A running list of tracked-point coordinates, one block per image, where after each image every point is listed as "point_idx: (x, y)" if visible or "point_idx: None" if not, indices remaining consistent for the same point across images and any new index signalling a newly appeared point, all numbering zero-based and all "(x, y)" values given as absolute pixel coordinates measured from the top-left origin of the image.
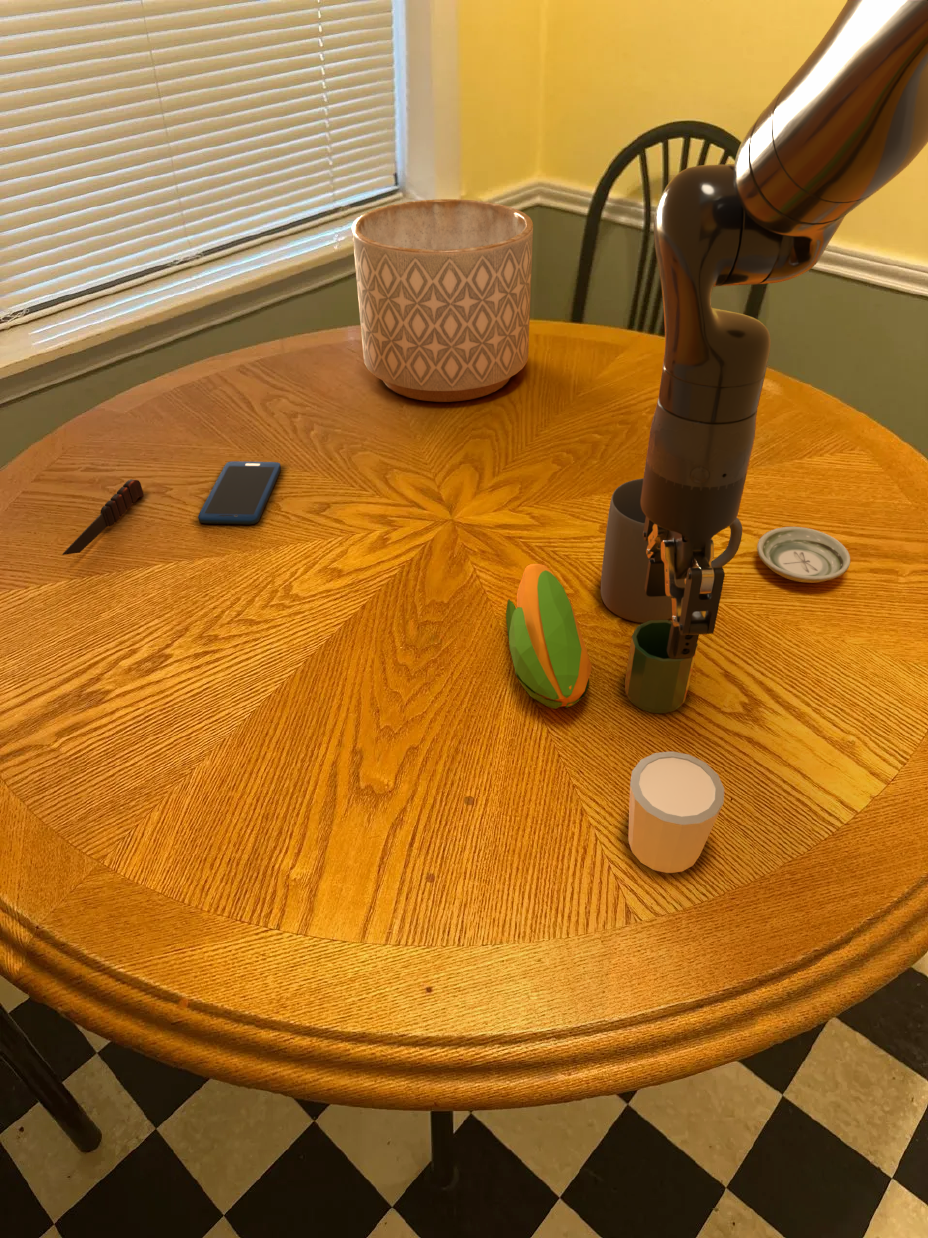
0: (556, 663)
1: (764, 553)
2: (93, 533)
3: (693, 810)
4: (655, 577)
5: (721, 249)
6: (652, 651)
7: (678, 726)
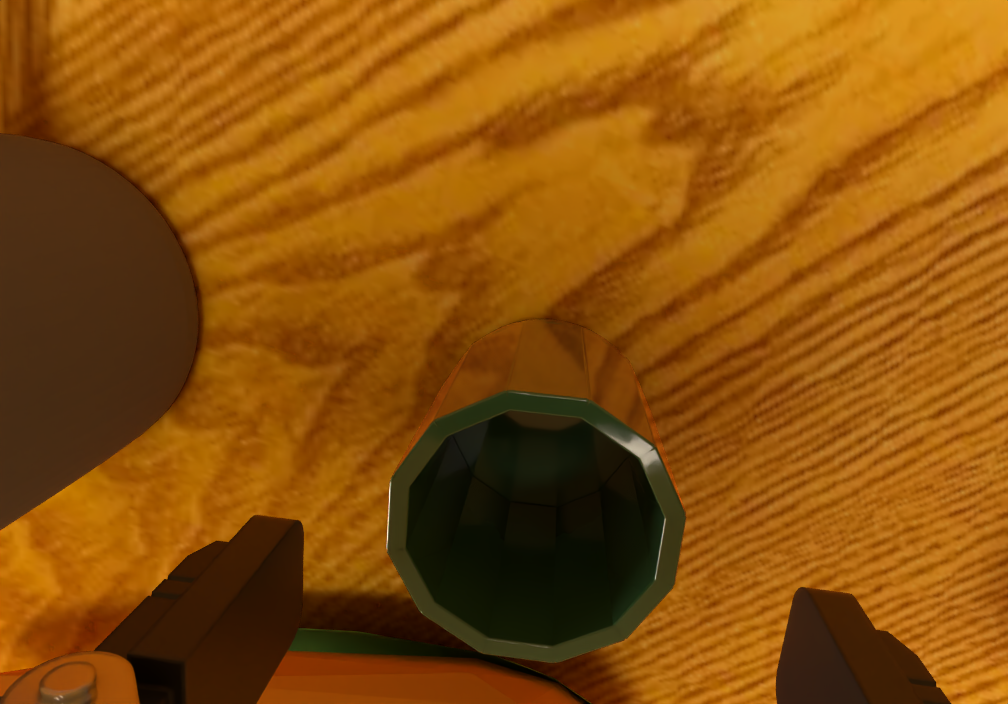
0: None
1: None
2: None
3: None
4: (244, 682)
5: None
6: (439, 451)
7: (710, 395)
